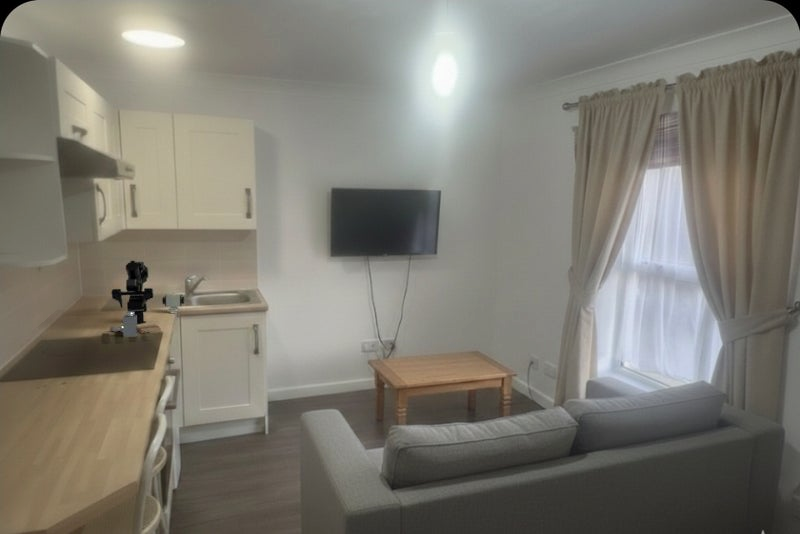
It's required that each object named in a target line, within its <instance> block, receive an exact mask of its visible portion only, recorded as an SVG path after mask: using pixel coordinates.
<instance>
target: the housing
mask: <svg viewBox="0 0 800 534" xmlns="http://www.w3.org/2000/svg"><path fill="white" fill-rule="evenodd" d="M122 325H123V332H122V333H123V338H134V337H137V336H138V331H137V326H138V324H137V315H135V313H134V311H128V310H127V311H125V313H124V315H123V317H122Z"/></svg>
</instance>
